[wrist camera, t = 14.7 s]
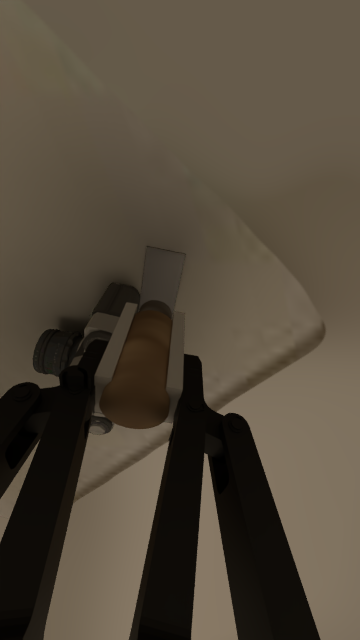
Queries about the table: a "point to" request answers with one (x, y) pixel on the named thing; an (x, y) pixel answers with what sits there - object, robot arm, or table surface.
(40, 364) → the camera
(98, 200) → the table surface
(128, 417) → the brown rounded cylinder
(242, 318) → the table surface
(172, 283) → the strip
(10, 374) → the table surface
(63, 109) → the table surface
